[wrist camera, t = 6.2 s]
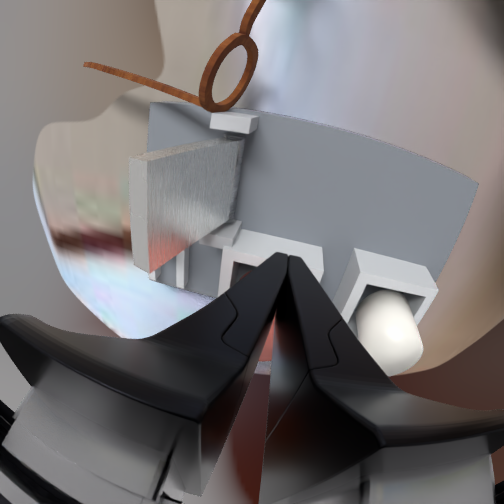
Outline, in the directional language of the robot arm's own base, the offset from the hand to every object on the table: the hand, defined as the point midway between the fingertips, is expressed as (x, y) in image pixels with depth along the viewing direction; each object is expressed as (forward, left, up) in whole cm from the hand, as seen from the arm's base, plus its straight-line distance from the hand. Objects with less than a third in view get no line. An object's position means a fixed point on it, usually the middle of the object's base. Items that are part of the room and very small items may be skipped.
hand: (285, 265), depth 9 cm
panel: (-1, +3, -10) cm, 11 cm away
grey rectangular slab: (+4, 0, -8) cm, 8 cm away
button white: (-8, +6, -6) cm, 12 cm away
